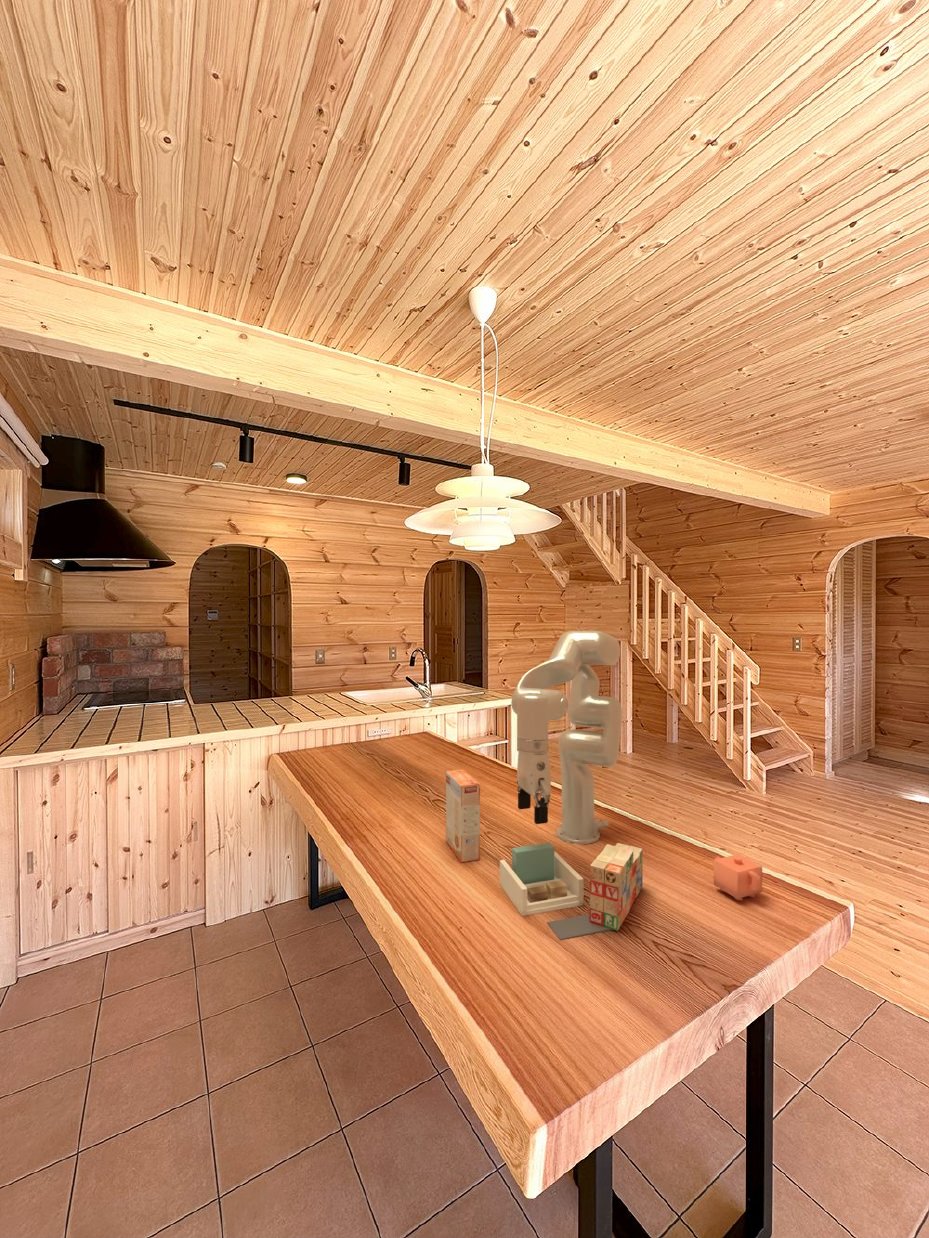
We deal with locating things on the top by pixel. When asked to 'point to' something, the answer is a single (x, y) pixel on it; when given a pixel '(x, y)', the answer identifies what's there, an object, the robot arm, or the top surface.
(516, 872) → the teal panel
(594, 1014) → the top surface
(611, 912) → the stack of blocks
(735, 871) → the pink cube teapot
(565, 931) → the charcoal mat
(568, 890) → the rack
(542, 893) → the walnut offcut
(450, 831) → the cracker box
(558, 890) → the pine offcut
